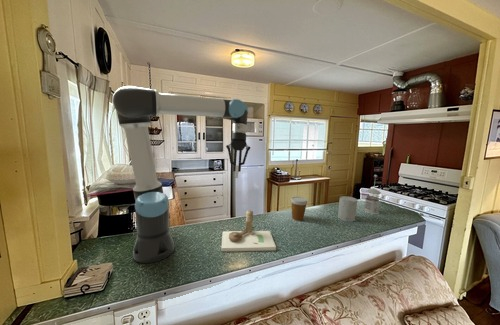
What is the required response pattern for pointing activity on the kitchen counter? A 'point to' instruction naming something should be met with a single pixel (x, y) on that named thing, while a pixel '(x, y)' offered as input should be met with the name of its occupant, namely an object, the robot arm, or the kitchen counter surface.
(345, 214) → the grey cylinder
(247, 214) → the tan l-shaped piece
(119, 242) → the kitchen counter surface
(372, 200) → the french press
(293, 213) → the disposable coffee cup
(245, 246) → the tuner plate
